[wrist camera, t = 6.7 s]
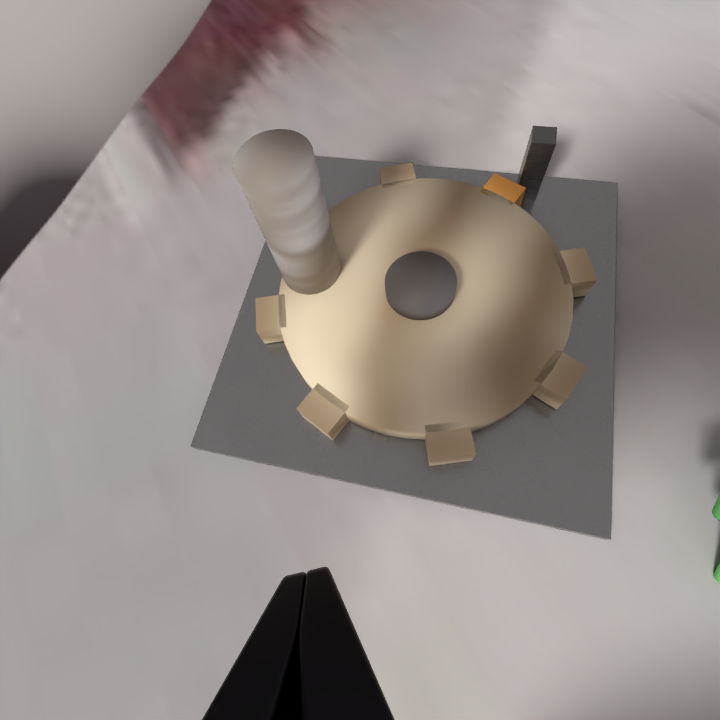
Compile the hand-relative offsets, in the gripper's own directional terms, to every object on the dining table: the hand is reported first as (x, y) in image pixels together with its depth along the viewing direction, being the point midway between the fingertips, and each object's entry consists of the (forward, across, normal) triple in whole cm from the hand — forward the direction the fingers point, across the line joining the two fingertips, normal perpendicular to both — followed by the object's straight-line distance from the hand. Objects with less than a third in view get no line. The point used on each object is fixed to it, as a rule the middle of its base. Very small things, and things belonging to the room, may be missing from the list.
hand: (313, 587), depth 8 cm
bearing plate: (+18, -6, +1) cm, 19 cm away
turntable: (+17, -6, 0) cm, 18 cm away
